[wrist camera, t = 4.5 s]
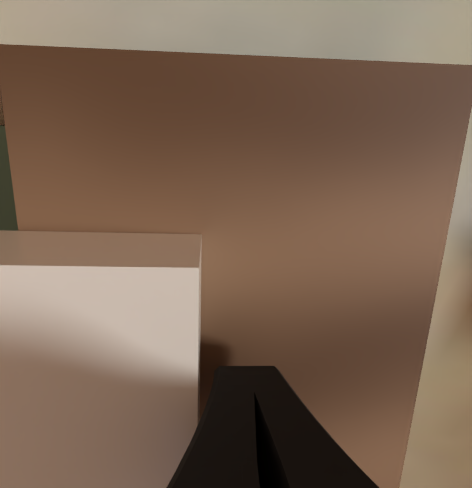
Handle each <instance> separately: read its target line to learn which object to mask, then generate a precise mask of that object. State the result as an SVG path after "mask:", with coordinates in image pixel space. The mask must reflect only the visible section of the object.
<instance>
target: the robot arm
mask: <svg viewBox="0 0 472 488" xmlns="http://www.w3.org/2000/svg"><path fill="white" fill-rule="evenodd" d="M166 488H379V487H378V486H377V485H376V484H375V483H374V482H373V481H372V480H371V479H370V478H369V477H368V476H367V475H366V474H365V473H364V472H363V470H362V469H361V468H360V467H359V466H358V465H357V464H356V463H355V462H354V461H353V460H352V459H351V458H350V457H349V456H348V455H347V454H346V453H345V451H344V450H343V449H342V448H341V447H340V446H339V445H338V444H337V443H336V441H335V440H334V439H333V438H332V437H331V436H330V434H329V433H328V432H327V431H326V430H325V429H324V427H323V426H322V425H321V424H320V423H319V422H318V420H317V419H316V418H315V417H314V416H313V414H312V413H311V412H310V411H309V409H308V408H307V407H306V406H305V404H304V403H303V402H302V401H301V399H300V398H299V397H298V395H297V394H296V393H295V391H294V390H293V389H292V387H291V386H290V385H289V383H288V382H287V381H286V379H285V378H284V377H283V375H282V374H281V372H280V371H279V370H278V369H277V368H276V367H275V366H219V367H218V368H217V369H216V370H214V379H213V384H212V388H211V391H210V395H209V398H208V400H207V403H206V406H205V409H204V411H203V414H202V416H201V419H200V421H199V423H198V426H197V428H196V431H195V433H194V435H193V437H192V440H191V442H190V444H189V446H188V448H187V450H186V452H185V453H184V455H183V457H182V459H181V461H180V463H179V465H178V467H177V469H176V471H175V473H174V475H173V477H172V479H171V480H170V482H169V484H168V486H167V487H166Z"/></svg>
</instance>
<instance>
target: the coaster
mask: <svg viewBox="0 0 472 488" xmlns="http://www.w3.org/2000/svg"><path fill="white" fill-rule="evenodd" d="M201 249H202V234H164V233H111V232H57V231H3V230H0V488H166V487H167V486H168V484H169V482H170V480H171V479H172V477H173V475H174V473H175V471H176V469H177V467H178V465H179V463H180V461H181V459H182V457H183V455H184V453H185V452H186V450H187V448H188V446H189V444H190V442H191V440H192V437H193V435H194V433H195V431H196V428H197V426H198V423H199V417H200V333H201Z"/></svg>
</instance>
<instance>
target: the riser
mask: <svg viewBox="0 0 472 488" xmlns="http://www.w3.org/2000/svg"><path fill="white" fill-rule="evenodd" d="M0 92H1V100H2V107H3V115H4V123H5V131H6V139H7V146H8V154H9V162H10V170H11V178H12V185H13V193H14V201H15V209H16V217H17V224H18V231H57V232H111V233H164V234H202V249H201V333H200V417H199V421H200V419H201V416H202V414H203V411H204V409H205V406H206V403H207V400H208V398H209V395H210V391H211V388H212V384H213V379H214V370H216V369H217V368H218V367H219V366H275V367H276V368H277V369H278V370H279V371H280V372H281V374H282V375H283V377H284V378H285V379H286V381H287V382H288V383H289V385H290V386H291V387H292V389H293V390H294V391H295V393H296V394H297V395H298V397H299V398H300V399H301V401H302V402H303V403H304V404H305V406H306V407H307V408H308V409H309V411H310V412H311V413H312V414H313V416H314V417H315V418H316V419H317V420H318V422H319V423H320V424H321V425H322V426H323V427H324V429H325V430H326V431H327V432H328V433H329V434H330V436H331V437H332V438H333V439H334V440H335V441H336V443H337V444H338V445H339V446H340V447H341V448H342V449H343V450H344V451H345V453H346V454H347V455H348V456H349V457H350V458H351V459H352V460H353V461H354V462H355V463H356V464H357V465H358V466H359V467H360V468H361V469H362V470H363V472H364V473H365V474H366V475H367V476H368V477H369V478H370V479H371V480H372V481H373V482H374V483H375V484H376V485H377V486H378V487H379V488H399V486H400V480H401V475H402V470H403V465H404V459H405V454H406V449H407V444H408V438H409V433H410V428H411V423H412V417H413V412H414V407H415V402H416V396H417V391H418V386H419V381H420V375H421V370H422V365H423V360H424V354H425V349H426V344H427V339H428V333H429V328H430V323H431V318H432V312H433V307H434V302H435V297H436V291H437V286H438V281H439V276H440V270H441V265H442V260H443V255H444V249H445V244H446V239H447V234H448V228H449V223H450V218H451V213H452V207H453V202H454V197H455V192H456V186H457V181H458V176H459V171H460V165H461V160H462V155H463V150H464V144H465V139H466V134H467V129H468V123H469V118H470V113H471V107H472V65H454V64H432V63H409V62H387V61H364V60H342V59H319V58H297V57H274V56H252V55H230V54H207V53H185V52H162V51H140V50H117V49H95V48H72V47H50V46H27V45H5V44H0Z"/></svg>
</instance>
